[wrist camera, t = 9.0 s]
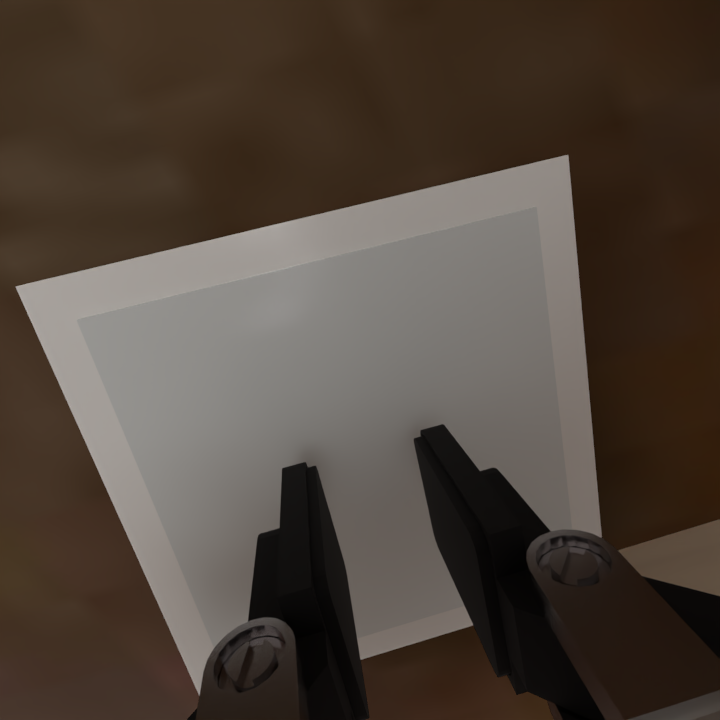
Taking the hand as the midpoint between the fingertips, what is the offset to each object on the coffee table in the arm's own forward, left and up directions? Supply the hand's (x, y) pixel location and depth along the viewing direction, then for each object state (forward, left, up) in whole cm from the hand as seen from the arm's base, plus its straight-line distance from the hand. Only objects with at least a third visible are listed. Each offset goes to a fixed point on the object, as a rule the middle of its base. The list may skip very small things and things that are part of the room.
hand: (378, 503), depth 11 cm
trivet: (0, 0, -3) cm, 3 cm away
